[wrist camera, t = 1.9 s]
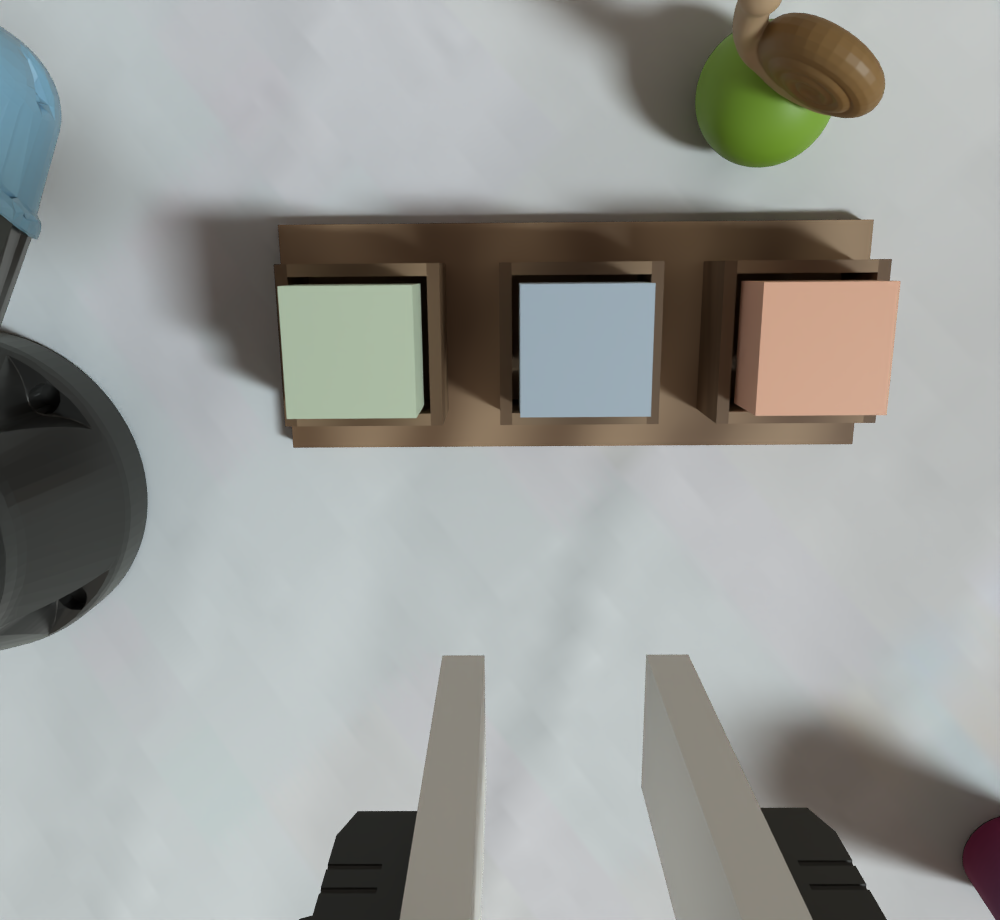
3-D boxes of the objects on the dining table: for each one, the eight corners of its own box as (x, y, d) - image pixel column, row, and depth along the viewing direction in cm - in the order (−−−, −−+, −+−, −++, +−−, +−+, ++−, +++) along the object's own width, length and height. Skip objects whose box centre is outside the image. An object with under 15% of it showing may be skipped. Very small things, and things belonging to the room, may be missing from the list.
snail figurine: (710, 0, 34) (815, -137, 23) (833, 85, 35) (997, -6, 23) (639, 118, 35) (705, 46, 24) (760, 198, 36) (881, 165, 24)
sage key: (305, 405, 34) (286, 418, 31) (297, 284, 33) (277, 286, 30) (424, 405, 34) (416, 418, 31) (420, 283, 33) (412, 284, 30)
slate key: (519, 404, 34) (520, 417, 31) (518, 282, 33) (520, 284, 30) (638, 403, 34) (650, 416, 31) (642, 281, 33) (655, 283, 30)
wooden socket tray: (298, 443, 39) (271, 465, 34) (284, 225, 36) (253, 220, 32) (843, 439, 39) (887, 462, 34) (863, 220, 36) (914, 214, 32)
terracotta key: (734, 402, 34) (755, 415, 31) (741, 280, 33) (764, 282, 30) (853, 402, 34) (886, 415, 31) (865, 279, 33) (900, 281, 30)
